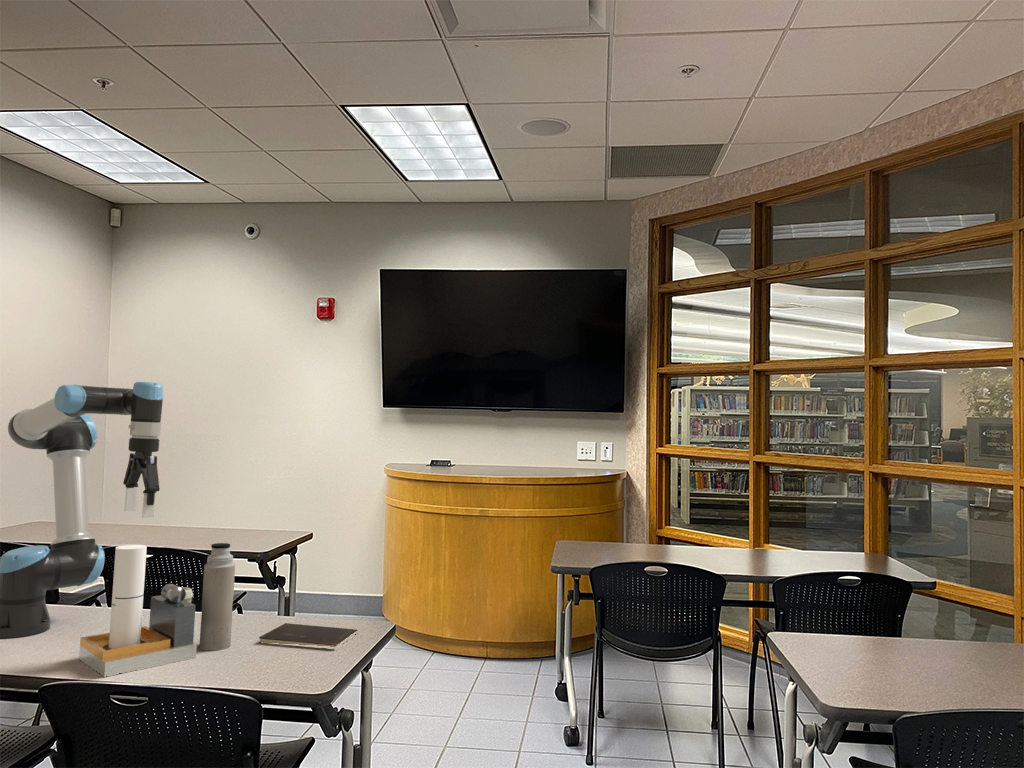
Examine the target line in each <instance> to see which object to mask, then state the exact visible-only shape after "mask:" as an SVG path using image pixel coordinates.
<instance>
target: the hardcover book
mask: <svg viewBox="0 0 1024 768" xmlns="http://www.w3.org/2000/svg"><path fill="white" fill-rule="evenodd" d="M356 631H358V629H355V628H345V627H335V626H334V627H332V626H321V625H313V624H311V625H310V624H300V623H299V624H297V623H289V622H288V623H287V622H285V623H283V624H281V625H279V626H277V627H275V628H273V629H272V630H270V631H268V632H266V633H265V634H262V635H261V636H259V637H258V639H259V640H260V641H259V643H260V642H263V643H279V644H299V645H317V646H330V647H336V646H337V645H338V644H340V643H341V642H343V641H344V640H345V639H346V638H348V637H349V636H350V635H351V634H353V633H354V632H356Z"/></svg>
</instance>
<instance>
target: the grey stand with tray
mask: <svg viewBox="0 0 1024 768" xmlns="http://www.w3.org/2000/svg"><path fill="white" fill-rule="evenodd" d="M181 587H182V586H181ZM181 587H180V586H178V585H176V584H173V583H167V584H165V585H163V587H162V589H161V591H160V595H155V596H151V597H150V607H149V608H150V609H149V624H148V625H149V627H148V626H146V625H145V626H141V640H140V644H136V645H131V646H126V647H121V648H115V649H111V648H109V637H110V632H105V633H100V634H99V633H98V634H95V635H89V636H82V637H80V639H79V652H78V653H79V654H78V660H79V661H80V660H81V662H82V663H83V662H84V663H83V664H85V665H86V664H87V665H88V667H89V666H90V667H91V668H90V667H89V668H90V669H92V668H93V669H94V670H95V671H94V670H93V669H92V670H93V671H94V672H96V671H97V672H98V673H97V672H96V673H97V674H99V673H100V674H101V675H102V676H101V675H100V674H99V675H100V676H101V677H103V676H104V677H103V678H107V677H106V676H109V677H111V676H110V675H114V676H117V675H116V674H118V675H120V674H119V673H123V674H126V673H125V672H128V673H131V672H130V671H132V672H136V671H135V670H137V671H141V670H145V669H149V668H154V667H159V666H164V665H169V664H173V663H177V662H182V661H186V660H187V659H188V660H192V659H196V658H197V646H198V644H197V643H196V642H194V636H195V619H196V607H197V606H196V604H194V603H192V602H191V603H190V602H187V601H185V600H184V598H185V596H186V592H185V590H184V589H183V588H181ZM87 665H86V666H87Z"/></svg>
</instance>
